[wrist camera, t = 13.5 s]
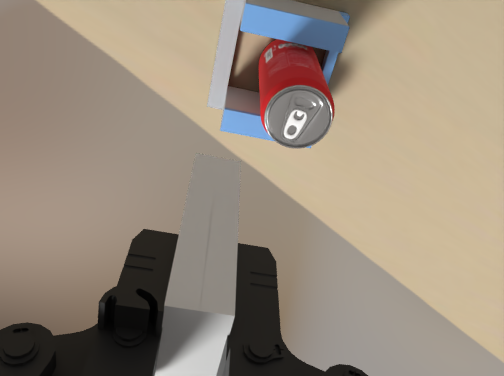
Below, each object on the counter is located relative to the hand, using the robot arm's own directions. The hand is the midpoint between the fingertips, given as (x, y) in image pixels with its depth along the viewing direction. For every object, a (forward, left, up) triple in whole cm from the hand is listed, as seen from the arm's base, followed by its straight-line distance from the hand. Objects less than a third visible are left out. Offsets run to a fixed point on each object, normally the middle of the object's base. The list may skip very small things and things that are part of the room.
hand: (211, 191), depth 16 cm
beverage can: (+4, +5, -28) cm, 29 cm away
